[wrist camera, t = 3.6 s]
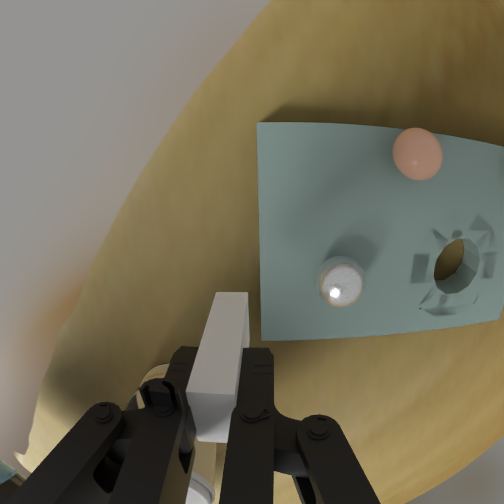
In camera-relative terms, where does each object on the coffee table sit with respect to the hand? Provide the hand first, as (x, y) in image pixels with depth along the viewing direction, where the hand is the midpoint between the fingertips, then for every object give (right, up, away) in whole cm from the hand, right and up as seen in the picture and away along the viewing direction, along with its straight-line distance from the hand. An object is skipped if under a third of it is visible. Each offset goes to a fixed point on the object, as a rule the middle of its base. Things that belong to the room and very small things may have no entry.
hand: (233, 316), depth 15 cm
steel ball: (+6, +1, +4) cm, 8 cm away
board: (+12, +5, +7) cm, 15 cm away
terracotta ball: (+11, +9, +1) cm, 14 cm away
